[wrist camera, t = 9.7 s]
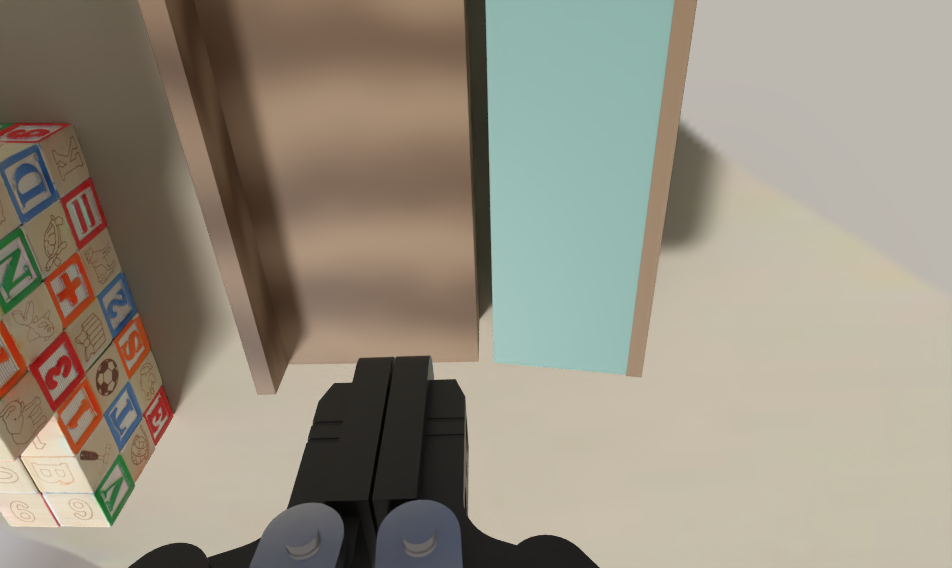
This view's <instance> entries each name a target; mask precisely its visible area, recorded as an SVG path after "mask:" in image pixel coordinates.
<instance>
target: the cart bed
mask: <svg viewBox="0 0 952 568" xmlns="http://www.w3.org/2000/svg"><path fill="white" fill-rule="evenodd" d="M138 3H139V6H140V9H141V13H142V16H143V19H144V23H145V26H146V29H147V32H148V36H149V39H150V42H151V46H152V49H153V52H154V55H155V59H156V62H157V65H158V69H159V72H160V75H161V79H162V82H163V85H164V88H165V92H166V95H167V98H168V102H169V105H170V108H171V111H172V115H173V118H174V121H175V125H176V128H177V131H178V134H179V138H180V141H181V144H182V148H183V151H184V154H185V157H186V161H187V164H188V167H189V171H190V174H191V177H192V181H193V184H194V187H195V190H196V194H197V197H198V200H199V204H200V207H201V210H202V213H203V217H204V220H205V223H206V227H207V230H208V233H209V236H210V240H211V243H212V246H213V250H214V253H215V256H216V259H217V263H218V266H219V269H220V273H221V276H222V279H223V282H224V286H225V289H226V292H227V296H228V299H229V302H230V306H231V309H232V312H233V315H234V319H235V322H236V325H237V329H238V332H239V335H240V338H241V342H242V345H243V348H244V352H245V355H246V358H247V361H248V365H249V368H250V371H251V375H252V378H253V381H254V384H255V388H256V391H257V394H258V395H262V394H276V392H277V390H278V388H279V385H280V383H281V380H282V378H283V376H284V373H285V371H286V368H287V366H288V364H342V363H357V362H358V359H359V358H369V357H395V358H396V357H397V356H427V355H431V358H432V362H478V359H479V297H478V271H477V244H476V218H475V191H474V165H473V139H472V112H471V86H470V59H469V33H468V7H467V0H138Z"/></svg>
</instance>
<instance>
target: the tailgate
mask: <svg viewBox="0 0 952 568" xmlns="http://www.w3.org/2000/svg"><path fill="white" fill-rule="evenodd" d="M696 4H697V0H486V44H487V87H488V130H489V173H490V216H491V260H492V303H493V346H494V363H505V364H516V365H527V366H537V367H548V368H559V369H570V370H581V371H591V372H602V373H613V374H624V375H626V376H632V377H642V370H643V363H644V356H645V350H646V343H647V336H648V329H649V323H650V316H651V309H652V302H653V296H654V289H655V282H656V275H657V268H658V262H659V255H660V248H661V241H662V235H663V228H664V221H665V214H666V208H667V201H668V194H669V187H670V180H671V174H672V167H673V160H674V153H675V147H676V140H677V133H678V126H679V120H680V113H681V106H682V99H683V92H684V86H685V79H686V71H687V65H688V59H689V52H690V45H691V38H692V32H693V25H694V18H695V11H696Z"/></svg>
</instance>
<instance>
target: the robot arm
mask: <svg viewBox="0 0 952 568" xmlns="http://www.w3.org/2000/svg"><path fill="white" fill-rule="evenodd" d="M468 455H469V446H468V431H467V416H466V401H465V396H464V394H463V392H462V390H461V388H460V387H459V385H458V383H457V381H456V379H449V380H434V374H433V365H432V358H431V355H427V356H397V357H396V358H395V357H369V358H359V359H358V362H357V365H356V370H355V374H354V378H353V382H352V383H334V384H333V385H332V386H331V387H330V389H329V390H328V391H327V392H326V393H325V395H324V396H323V397H322V398H321V399H320V401H319V402H318V406H317V409H316V413H315V416H314V419H313V426H311V430H310V433H309V437H308V443H306V447H305V450H304V454H303V457H302V460H301V464H300V467H299V471H298V474H297V477H296V481H295V484H294V488H293V491H292V494H291V498H290V501H289V504H288V507H287V510H285V511H283V512H282V513H280V514H279V515H278V516H277V517H275V518H274V519H273V520H272V521H271V522H270V523H269V525H268V526H267V528H266V529H265V531H264V533H263V535H262V537H261V538H259V539H258V540H256V541H254V542H252V543H250V544H247V545H245V546H242V547H239V548H236V549H233V550H230V551H227V552H224V553H220V554H217V555H214V556H211V557H208V558H207V557H206V555H205V554H204V552H203V551H202V550H201V549H200V548H198V547H197V546H194V545H192V544H188V543H173V544H168V545H164V546H161V547H159V548H157V549H154V550H153V551H151V552H149V553H147V554H146V555H144V556H143V557H141V558H140V559H139V560H137V561H136V562H135V563H133V564H132V565H131V566H129V567H128V568H599V567H598V566H597V565H596V564H595V563H594V562H593V561H592V560H591V559H590V558H589V557H588V556H587V555H586V554H585V553H584V552H583V551H582V550H581V549H579V548H578V547H577V546H576V545H575V544H573V543H571V542H570V541H568V540H566V539H563V538H561V537H557V536H553V535H538V536H534V537H530V538H528V539H525V540H524V541H522V542H520V543H519V544H518V545H514V544H510V543H507V542H504V541H500V540H497V539H494V538H492V537H489V536H488V535H486V534H484V533H482V532H481V531H480V530H478V529H477V528H476V527H475V526H474V525H473V524H472V522H471V521H470V519H469V518H468Z"/></svg>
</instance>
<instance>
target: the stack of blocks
mask: <svg viewBox="0 0 952 568" xmlns="http://www.w3.org/2000/svg"><path fill="white" fill-rule="evenodd" d="M172 418H173V412H172V410H171V407H170V405H169V402H168V399H167V397H166V394H165V391H164V389H163V386H162V379H161V376H160V373H159V370H158V367H157V364H156V362H155V359H154V356H153V354H152V352H151V350H150V345H149V342H148V339H147V336H146V333H145V330H144V327H143V324H142V321H141V319H140V315H139V313H137V312H136V307H135V304H134V301H133V299H132V296H131V293H130V290H129V288H128V285H127V282H126V279H125V276H124V273H123V272H122V271H121V266H120V263H119V260H118V257H117V255H116V252H115V249H114V246H113V244H112V241H111V238H110V235H109V232H108V230H107V223H106V220H105V217H104V214H103V211H102V209H101V206H100V203H99V200H98V197H97V194H96V191H95V189H94V186H93V183H92V180H91V177H90V174H89V170H88V167H87V164H86V161H85V159H84V156H83V153H82V150H81V147H80V144H79V141H78V139H77V136H76V133H75V130H74V127H73V126H72V124H54V123H16V124H0V512H1V514H2V515H3V516H4V518H5V519H6V521H7V523H8V524H9V525H10V526H33V527H59V526H79V527H111V526H112V525H113V523H114V522H115V520H116V518H117V516H118V515H119V513H120V511H121V510H122V508H123V506H124V505H125V503H126V501H127V499H128V498H129V496H130V494H131V493H132V491H133V489H134V487H135V484H134V483H135V482H136V480H137V479H138V477H139V476H140V474H141V472H142V470H143V469H144V467H145V465H146V464H147V462H148V460H149V459H150V457H151V455H152V454H153V452H154V450H155V446H156V445H157V443H158V442H159V440H160V438H161V437H162V435H163V434H164V432H165V430H166V429H167V427H168V425H169V423H170V422H171V420H172Z"/></svg>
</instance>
